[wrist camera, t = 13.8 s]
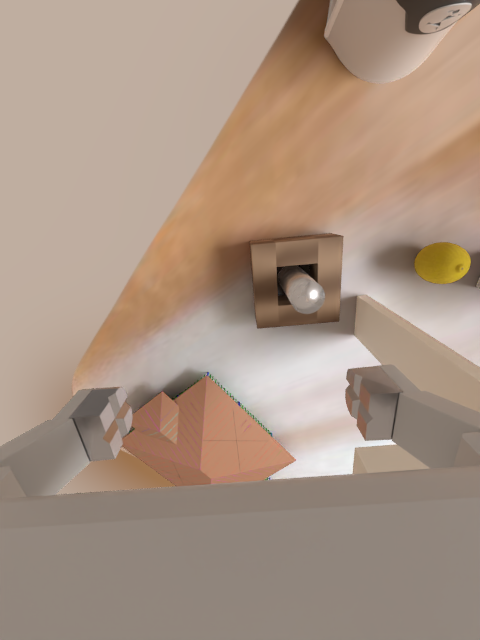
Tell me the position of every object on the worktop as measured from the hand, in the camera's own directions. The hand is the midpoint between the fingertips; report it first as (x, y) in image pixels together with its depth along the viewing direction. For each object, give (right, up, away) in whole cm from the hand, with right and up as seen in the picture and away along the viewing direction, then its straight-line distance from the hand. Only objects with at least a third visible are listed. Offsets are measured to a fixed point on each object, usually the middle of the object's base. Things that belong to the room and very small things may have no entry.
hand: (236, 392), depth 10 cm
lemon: (+28, +12, +31) cm, 44 cm away
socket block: (+8, +9, +32) cm, 34 cm away
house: (-5, -22, +45) cm, 50 cm away
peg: (+8, +9, +32) cm, 34 cm away
